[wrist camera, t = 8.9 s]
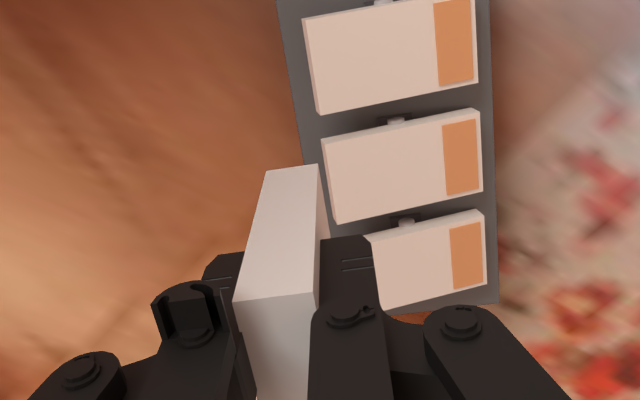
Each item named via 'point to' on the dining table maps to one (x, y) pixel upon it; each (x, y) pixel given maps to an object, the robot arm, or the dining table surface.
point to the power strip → (303, 3)
